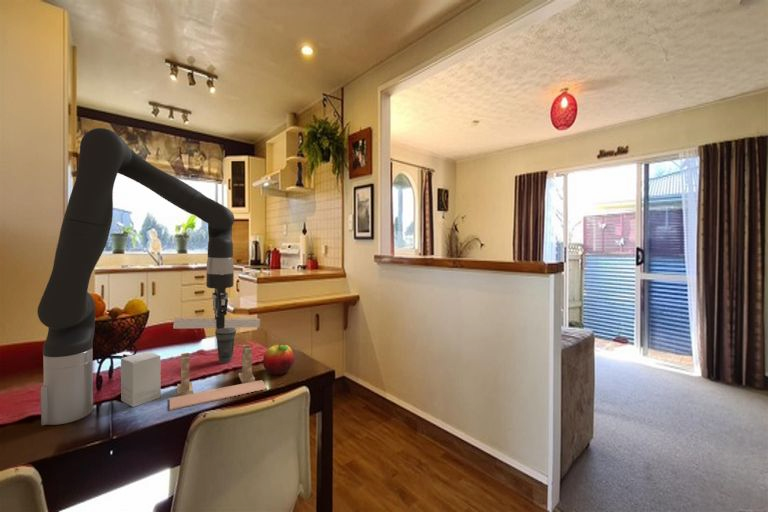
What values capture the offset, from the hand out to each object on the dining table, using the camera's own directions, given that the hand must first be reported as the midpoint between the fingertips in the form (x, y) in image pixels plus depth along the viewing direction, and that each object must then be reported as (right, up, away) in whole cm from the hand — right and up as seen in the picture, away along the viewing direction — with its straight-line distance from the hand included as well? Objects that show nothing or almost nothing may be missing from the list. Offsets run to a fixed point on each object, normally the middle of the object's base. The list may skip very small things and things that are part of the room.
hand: (219, 326), depth 102 cm
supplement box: (-20, -20, -6) cm, 29 cm away
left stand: (-10, -20, 0) cm, 22 cm away
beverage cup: (-10, -19, +24) cm, 32 cm away
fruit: (+13, -20, +16) cm, 29 cm away
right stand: (+5, -20, +9) cm, 22 cm away
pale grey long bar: (0, 0, 0) cm, 0 cm away
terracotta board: (+1, -20, -2) cm, 20 cm away
